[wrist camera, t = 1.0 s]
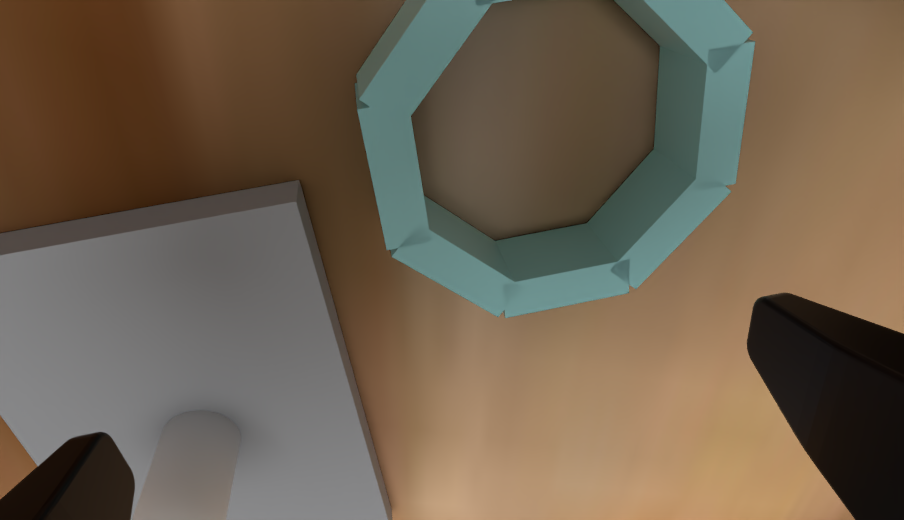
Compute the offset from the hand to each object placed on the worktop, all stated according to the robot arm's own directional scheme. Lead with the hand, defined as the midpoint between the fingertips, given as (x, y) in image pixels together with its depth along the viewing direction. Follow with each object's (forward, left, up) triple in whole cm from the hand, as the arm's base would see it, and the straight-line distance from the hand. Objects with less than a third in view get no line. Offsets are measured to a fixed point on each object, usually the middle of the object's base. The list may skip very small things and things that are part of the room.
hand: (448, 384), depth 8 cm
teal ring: (-4, 0, -10) cm, 11 cm away
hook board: (+8, +8, -10) cm, 15 cm away
